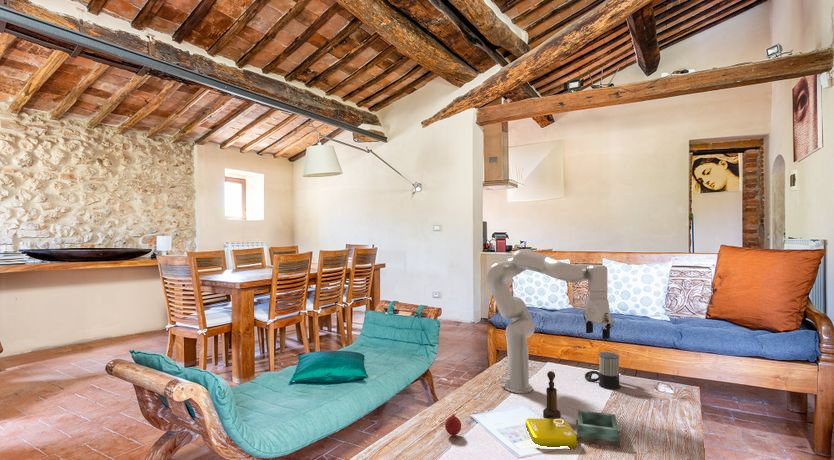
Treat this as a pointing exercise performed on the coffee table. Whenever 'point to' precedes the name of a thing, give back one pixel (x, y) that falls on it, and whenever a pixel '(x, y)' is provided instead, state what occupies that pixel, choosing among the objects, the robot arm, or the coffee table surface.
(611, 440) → the green square tray
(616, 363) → the milk frother
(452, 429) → the onion
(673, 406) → the coffee table surface
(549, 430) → the element tile
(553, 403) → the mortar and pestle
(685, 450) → the coffee table surface
